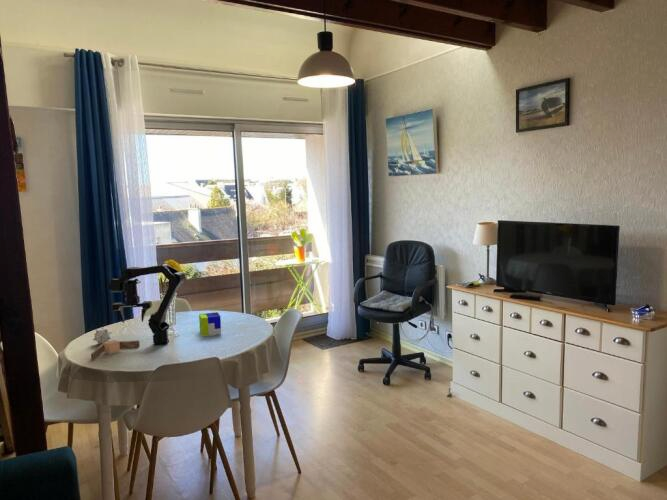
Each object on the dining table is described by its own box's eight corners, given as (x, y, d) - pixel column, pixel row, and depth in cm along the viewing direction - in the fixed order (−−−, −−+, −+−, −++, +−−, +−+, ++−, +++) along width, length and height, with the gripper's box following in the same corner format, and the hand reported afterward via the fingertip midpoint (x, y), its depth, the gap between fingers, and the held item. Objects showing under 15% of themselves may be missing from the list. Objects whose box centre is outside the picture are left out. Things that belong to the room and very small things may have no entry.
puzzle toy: (221, 334, 270) (220, 316, 269) (202, 336, 267) (201, 318, 265) (218, 329, 279) (217, 312, 278) (200, 331, 276) (199, 314, 275)
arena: (139, 346, 251) (139, 340, 251) (130, 358, 233) (129, 351, 232) (103, 348, 248) (103, 342, 248) (91, 360, 230) (90, 354, 230)
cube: (114, 349, 245) (113, 339, 245) (120, 351, 242) (119, 341, 242) (104, 352, 241) (104, 342, 241) (110, 354, 238) (109, 344, 238)
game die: (100, 352, 254) (86, 339, 249) (102, 341, 262) (89, 329, 256) (115, 343, 254) (102, 330, 249) (117, 333, 262) (104, 320, 256)
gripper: (153, 288, 263) (155, 317, 265) (115, 290, 260) (117, 319, 262) (149, 292, 252) (150, 322, 254) (110, 294, 249) (112, 324, 251)
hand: (133, 322), depth 255 cm, fingers open, 9 cm apart
